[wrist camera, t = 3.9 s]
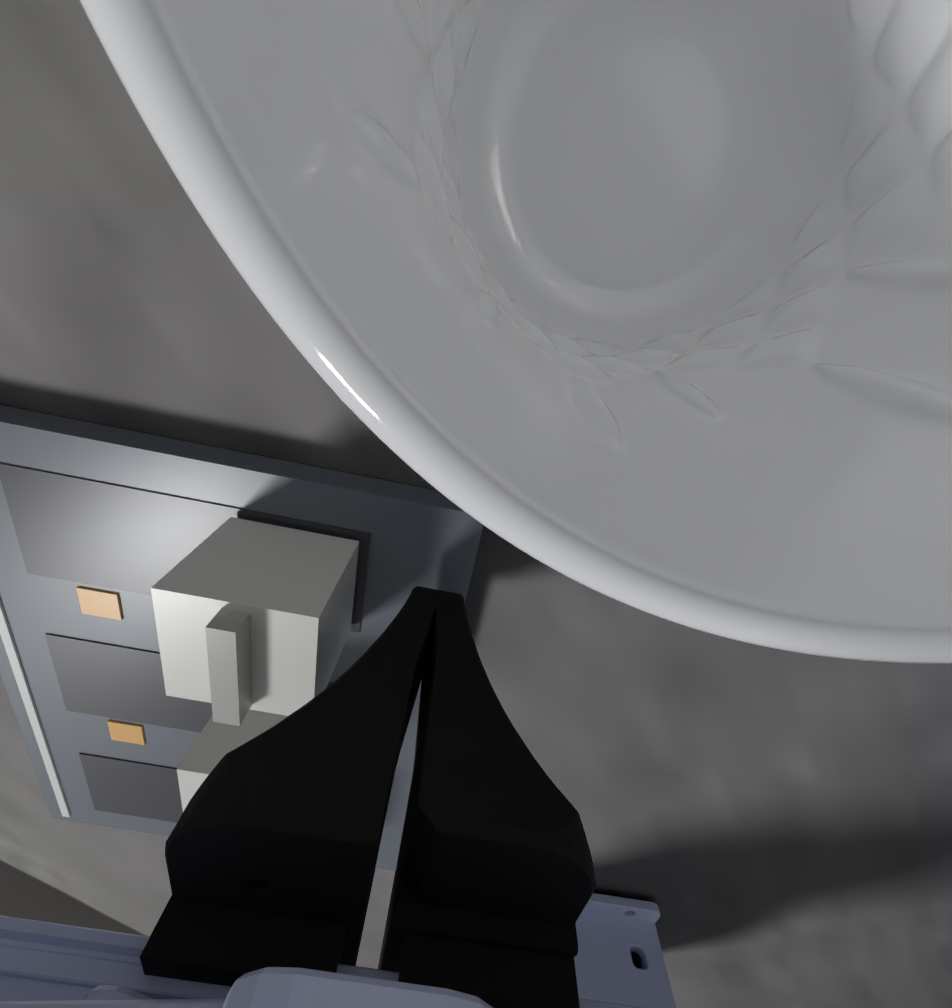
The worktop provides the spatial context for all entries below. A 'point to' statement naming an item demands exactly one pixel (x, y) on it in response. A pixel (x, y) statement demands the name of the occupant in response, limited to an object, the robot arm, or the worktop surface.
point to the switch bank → (129, 607)
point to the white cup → (610, 275)
